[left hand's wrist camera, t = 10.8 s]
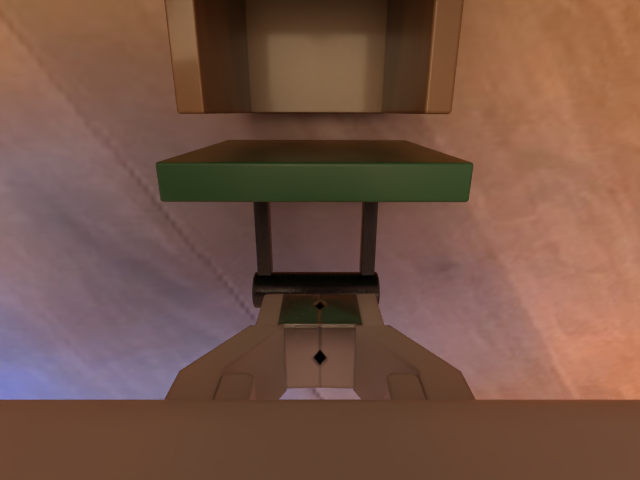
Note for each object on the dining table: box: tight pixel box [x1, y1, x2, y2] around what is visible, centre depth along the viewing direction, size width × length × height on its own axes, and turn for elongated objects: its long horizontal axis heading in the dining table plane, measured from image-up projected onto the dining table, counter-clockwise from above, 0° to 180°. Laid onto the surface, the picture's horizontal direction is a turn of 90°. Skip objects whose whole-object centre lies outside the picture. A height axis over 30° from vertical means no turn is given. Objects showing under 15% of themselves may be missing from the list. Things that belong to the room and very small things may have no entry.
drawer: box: [156, 0, 473, 308], centre depth 14 cm, size 19×9×9 cm, turn 0°
